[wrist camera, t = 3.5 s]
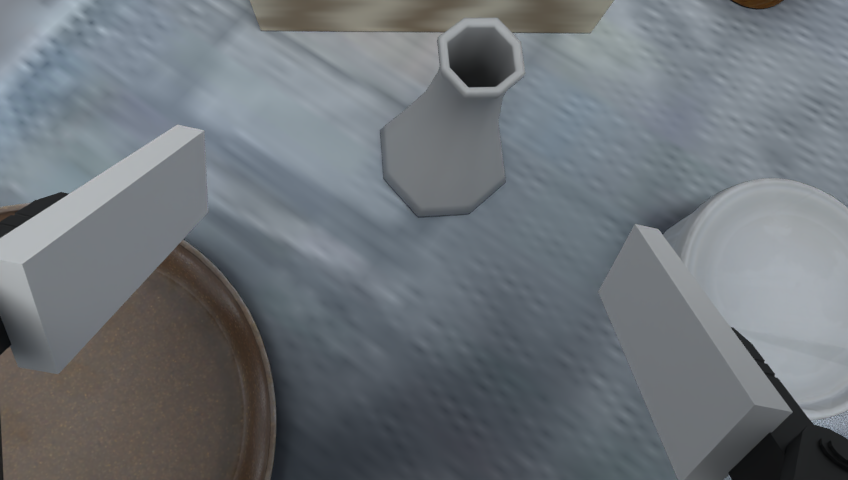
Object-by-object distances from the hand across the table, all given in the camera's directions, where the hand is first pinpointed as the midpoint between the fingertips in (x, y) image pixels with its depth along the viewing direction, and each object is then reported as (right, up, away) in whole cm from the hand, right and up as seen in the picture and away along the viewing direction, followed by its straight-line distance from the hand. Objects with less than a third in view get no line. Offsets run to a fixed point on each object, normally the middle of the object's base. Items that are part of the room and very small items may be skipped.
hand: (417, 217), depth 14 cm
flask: (+1, +4, +12) cm, 13 cm away
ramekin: (+17, -4, +12) cm, 21 cm away
